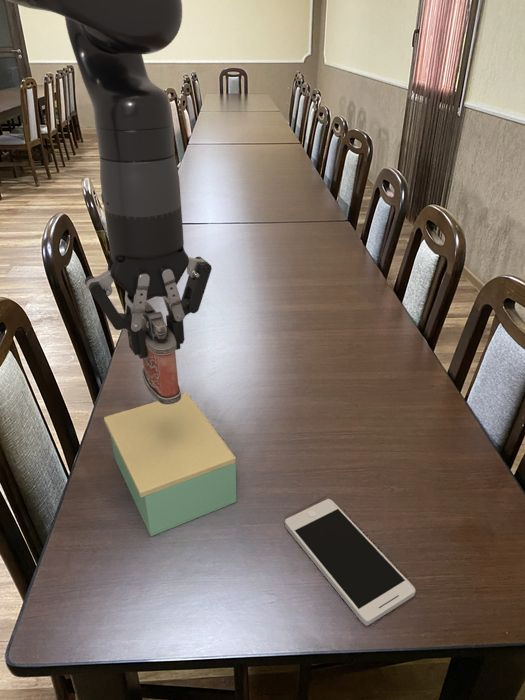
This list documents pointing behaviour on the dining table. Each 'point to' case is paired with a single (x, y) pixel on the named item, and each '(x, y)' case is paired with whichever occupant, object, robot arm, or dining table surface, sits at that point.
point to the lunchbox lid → (167, 444)
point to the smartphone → (350, 561)
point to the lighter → (160, 358)
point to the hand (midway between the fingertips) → (158, 350)
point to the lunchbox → (182, 497)
